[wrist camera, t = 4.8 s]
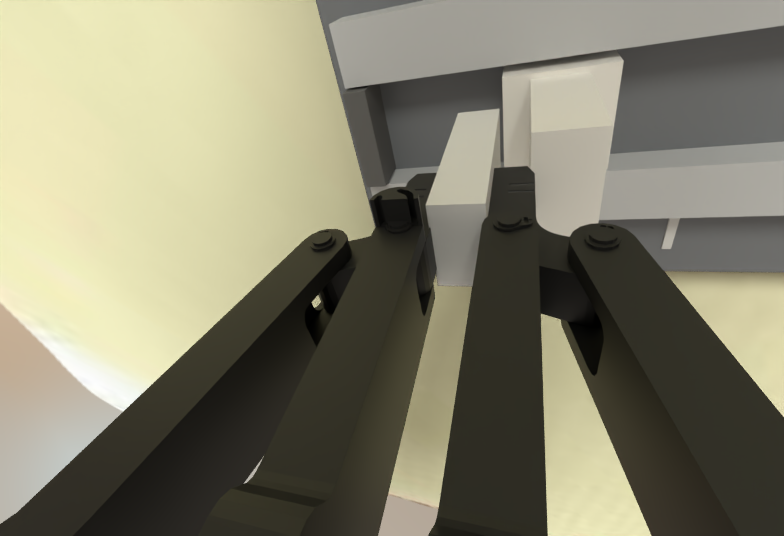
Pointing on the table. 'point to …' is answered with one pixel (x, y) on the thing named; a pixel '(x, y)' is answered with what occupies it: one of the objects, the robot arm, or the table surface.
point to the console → (633, 114)
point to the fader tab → (562, 132)
